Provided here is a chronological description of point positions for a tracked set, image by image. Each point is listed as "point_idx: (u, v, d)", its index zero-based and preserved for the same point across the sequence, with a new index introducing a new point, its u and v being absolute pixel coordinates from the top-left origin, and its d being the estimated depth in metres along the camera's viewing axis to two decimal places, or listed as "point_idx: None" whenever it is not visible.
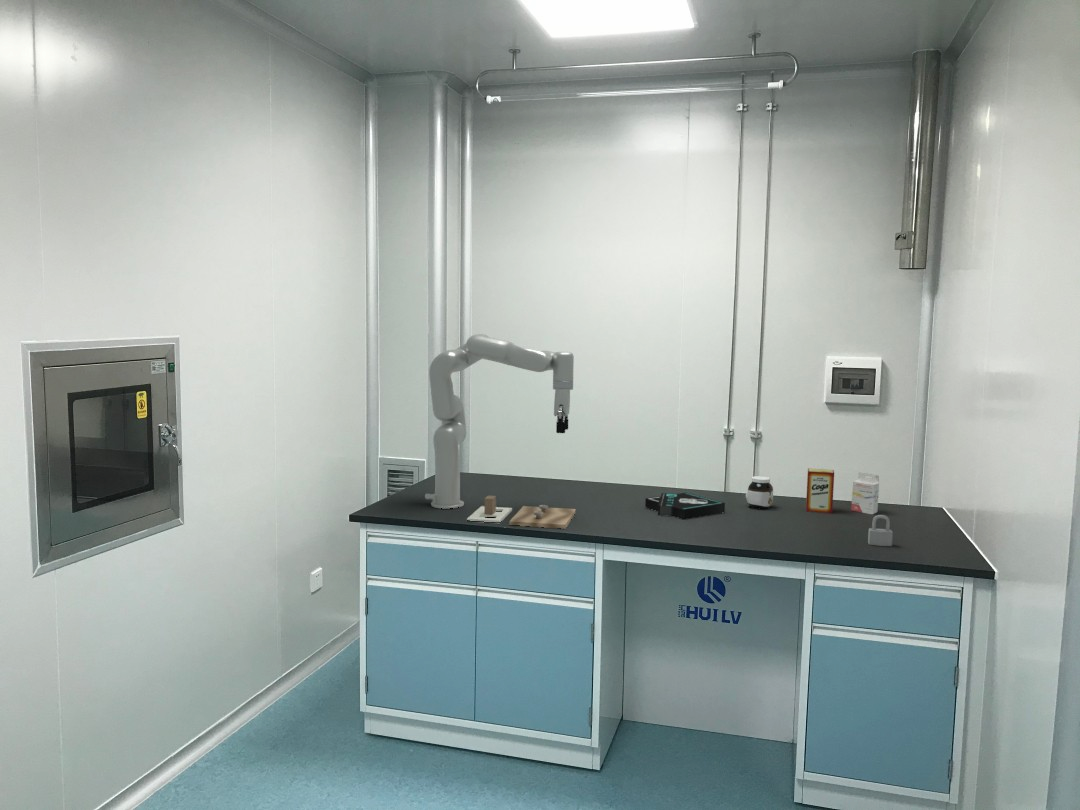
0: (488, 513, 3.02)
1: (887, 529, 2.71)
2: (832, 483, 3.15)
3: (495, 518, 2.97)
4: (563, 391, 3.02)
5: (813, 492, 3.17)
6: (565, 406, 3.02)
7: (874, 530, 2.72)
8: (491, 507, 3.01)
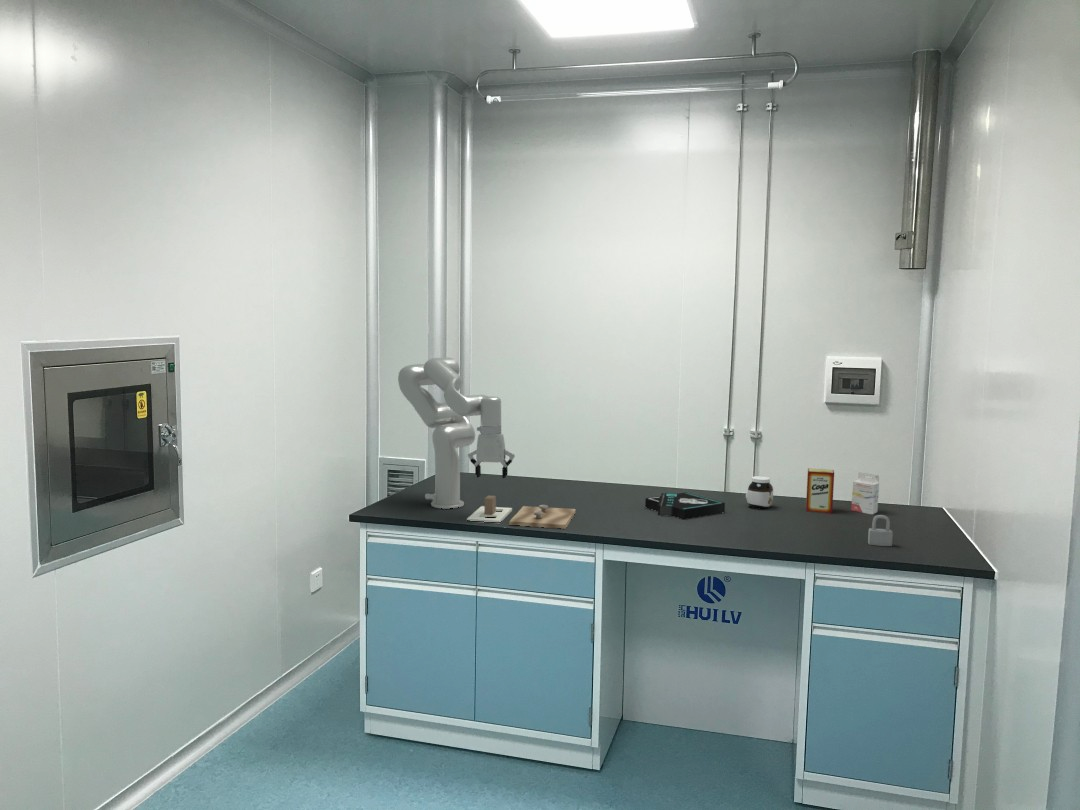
0: (488, 513, 3.02)
1: (887, 529, 2.71)
2: (832, 483, 3.15)
3: (495, 518, 2.97)
4: None
5: (813, 492, 3.17)
6: (505, 450, 3.02)
7: (874, 530, 2.72)
8: (491, 507, 3.01)
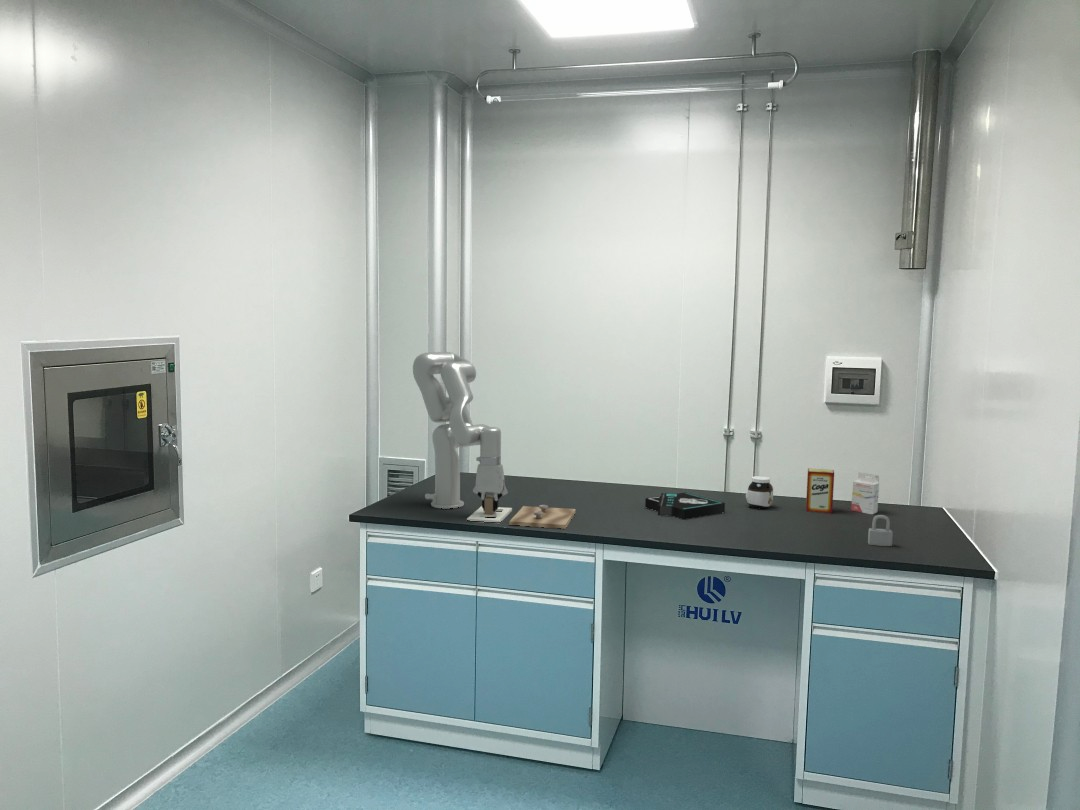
0: (488, 513, 3.02)
1: (887, 529, 2.71)
2: (832, 483, 3.15)
3: (495, 518, 2.97)
4: (502, 466, 3.02)
5: (813, 492, 3.17)
6: None
7: (874, 530, 2.72)
8: (491, 507, 3.01)
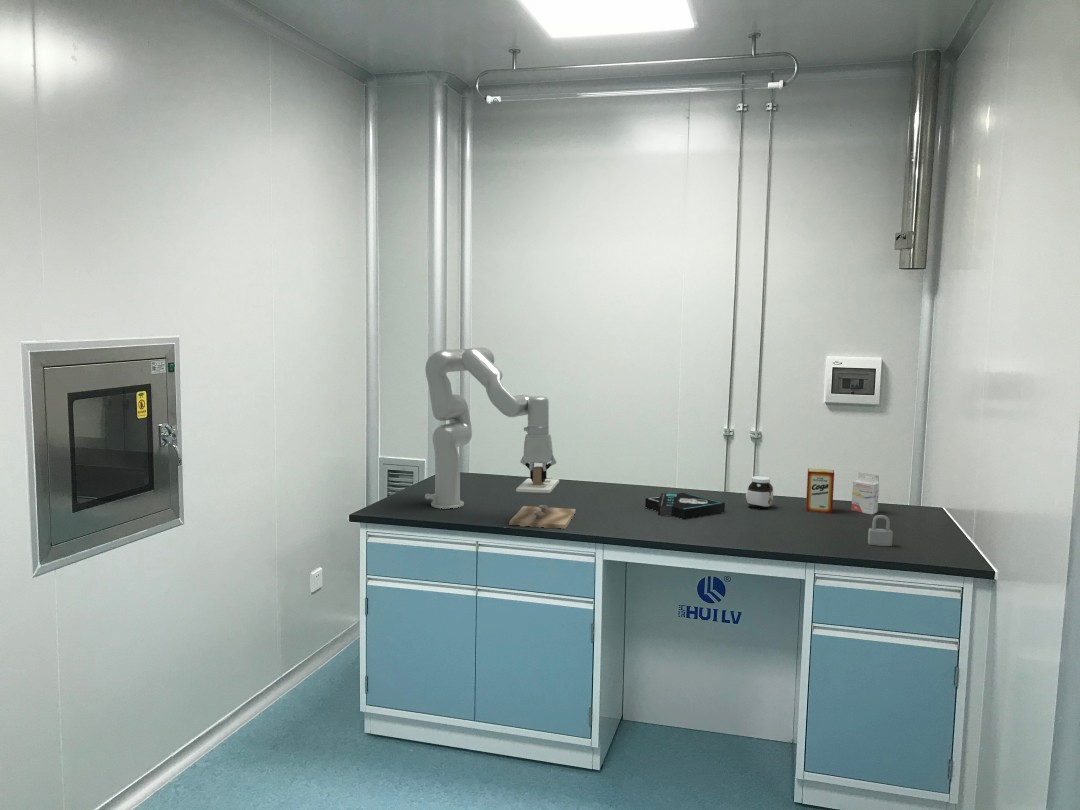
0: (537, 483, 2.97)
1: (887, 529, 2.71)
2: (832, 483, 3.15)
3: (545, 488, 2.92)
4: (550, 436, 2.98)
5: (813, 492, 3.17)
6: None
7: (874, 530, 2.72)
8: (540, 477, 2.97)
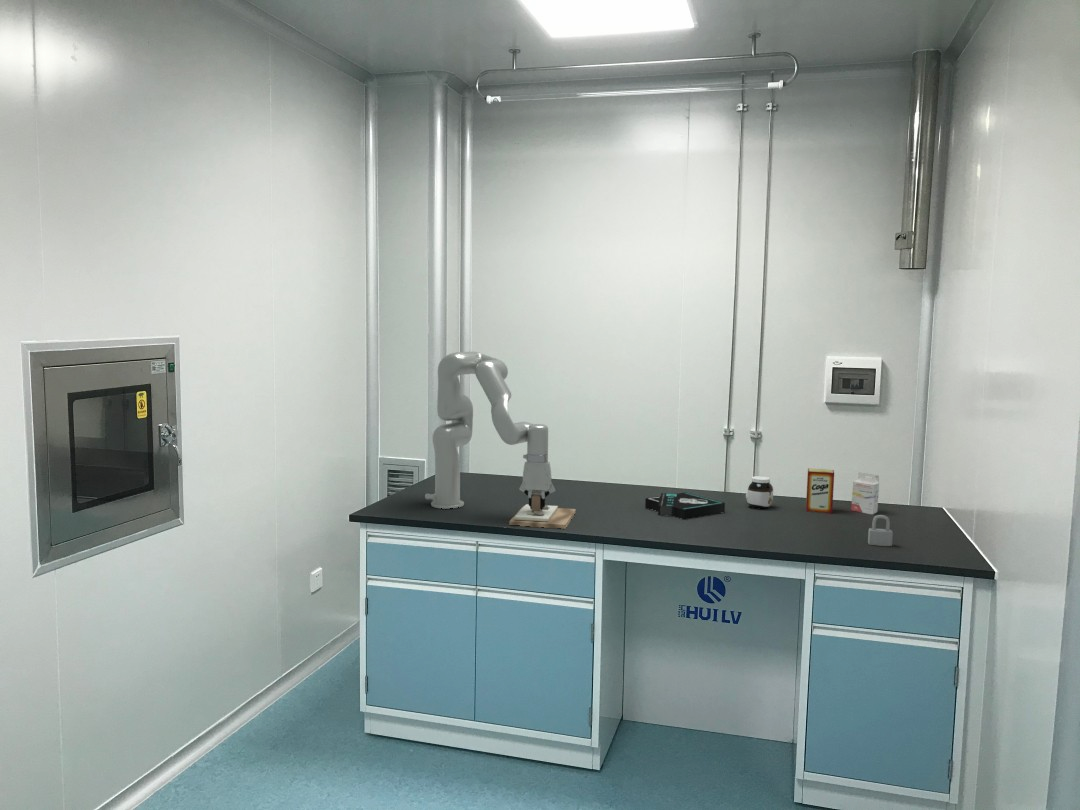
0: None
1: (887, 529, 2.71)
2: (832, 483, 3.14)
3: (543, 516, 2.93)
4: (549, 463, 2.99)
5: (813, 492, 3.17)
6: None
7: (874, 530, 2.72)
8: (538, 505, 2.98)
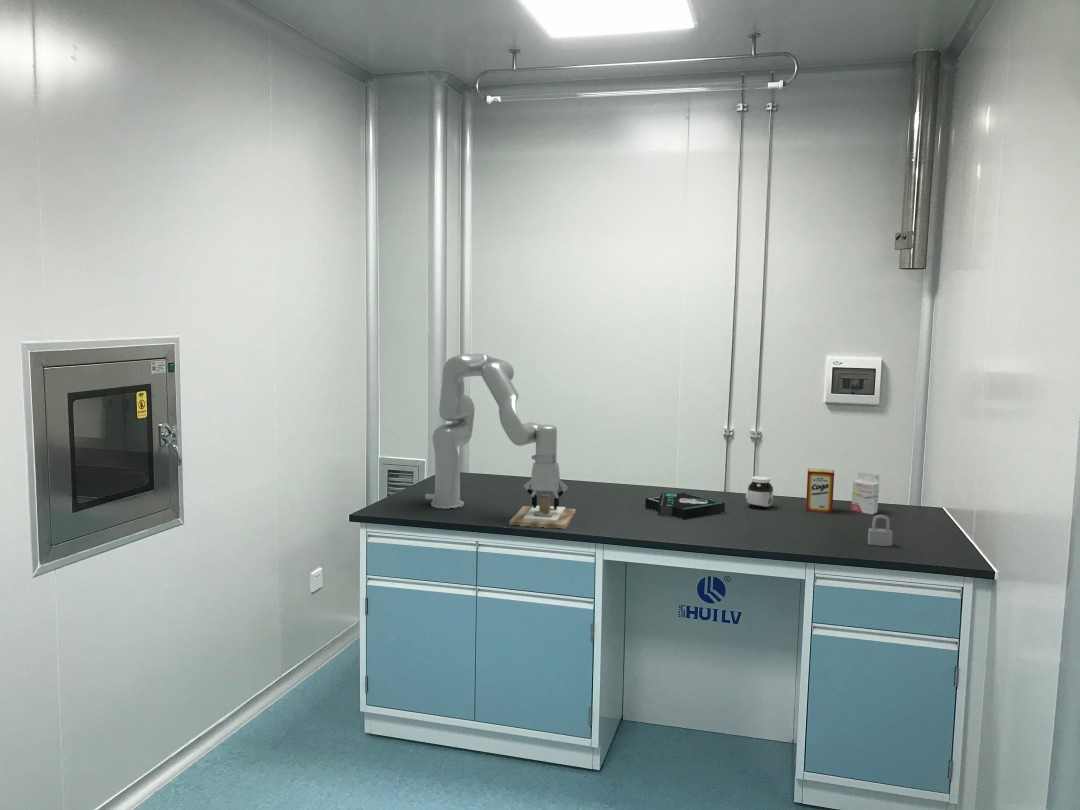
0: (543, 512, 2.98)
1: (887, 529, 2.71)
2: (832, 483, 3.15)
3: (551, 517, 2.93)
4: None
5: (813, 492, 3.17)
6: (559, 479, 3.00)
7: (874, 530, 2.72)
8: (546, 506, 2.97)
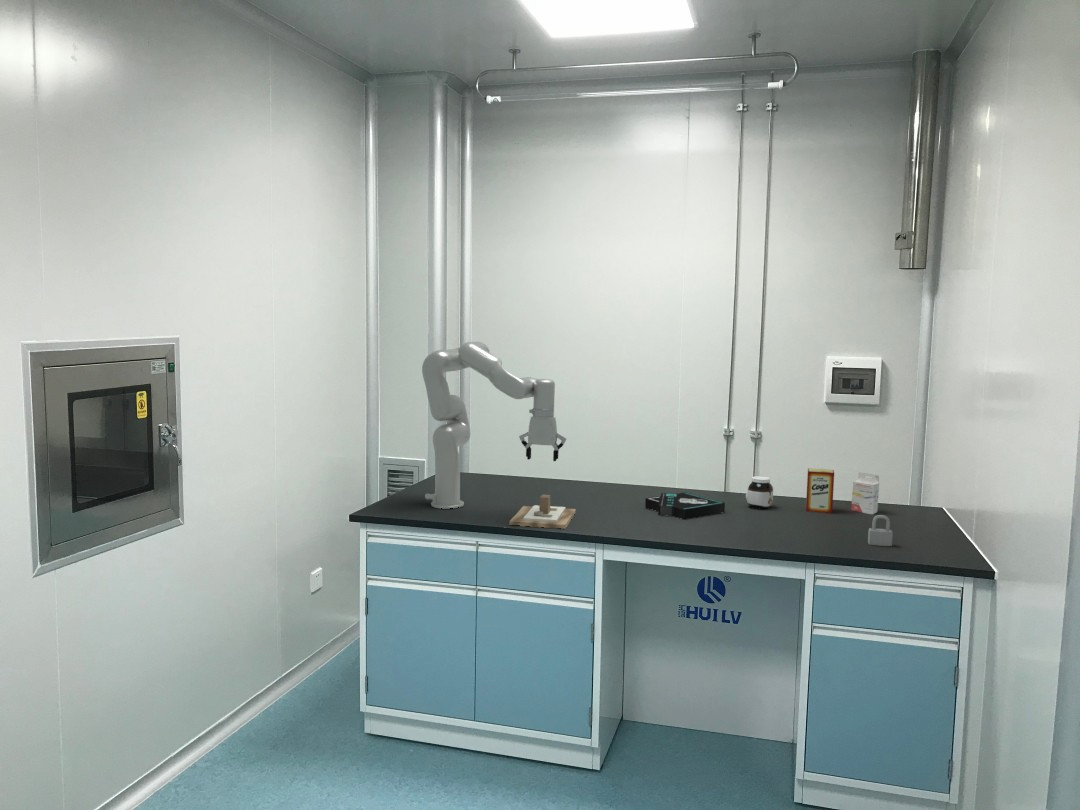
0: (543, 512, 2.98)
1: (887, 529, 2.71)
2: (832, 483, 3.15)
3: (551, 517, 2.93)
4: (555, 418, 3.00)
5: (813, 492, 3.17)
6: (556, 433, 3.01)
7: (874, 530, 2.72)
8: (546, 506, 2.97)
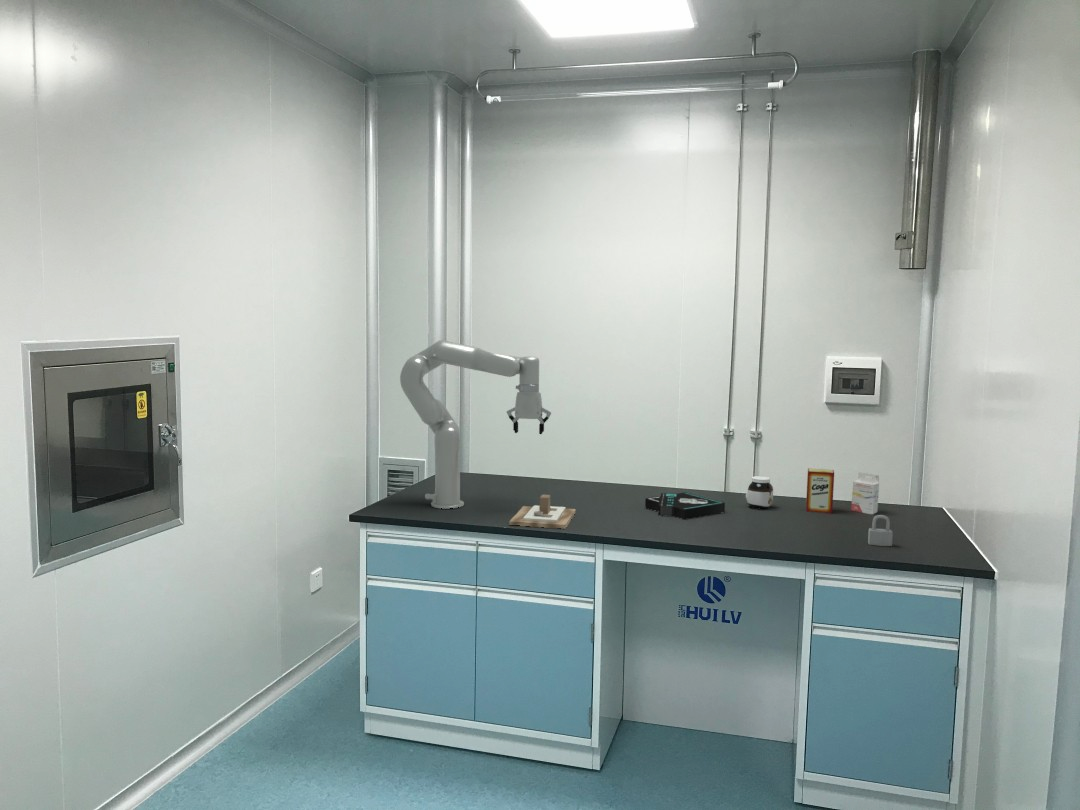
0: (543, 512, 2.98)
1: (887, 529, 2.71)
2: (832, 483, 3.14)
3: (551, 517, 2.93)
4: (540, 394, 3.17)
5: (813, 492, 3.17)
6: None
7: (874, 530, 2.72)
8: (546, 506, 2.97)
